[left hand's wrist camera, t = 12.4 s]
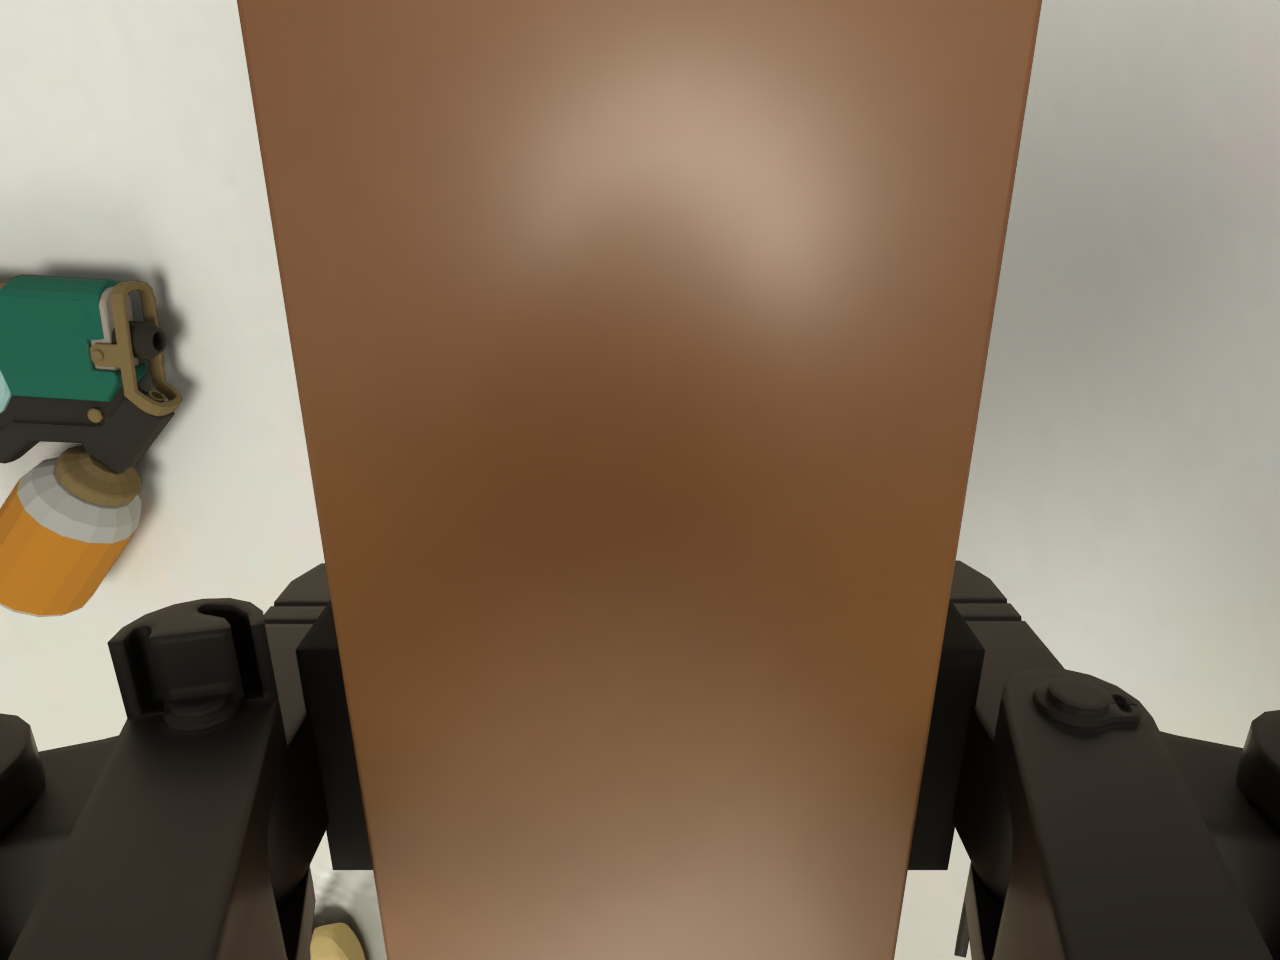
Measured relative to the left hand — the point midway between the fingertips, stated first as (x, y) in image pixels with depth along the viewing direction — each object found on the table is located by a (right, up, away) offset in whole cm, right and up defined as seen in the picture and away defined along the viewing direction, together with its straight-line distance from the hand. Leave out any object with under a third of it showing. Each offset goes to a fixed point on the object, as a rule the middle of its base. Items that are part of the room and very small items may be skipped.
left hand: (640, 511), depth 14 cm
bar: (0, -30, +13) cm, 33 cm away
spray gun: (-26, +3, +18) cm, 32 cm away
